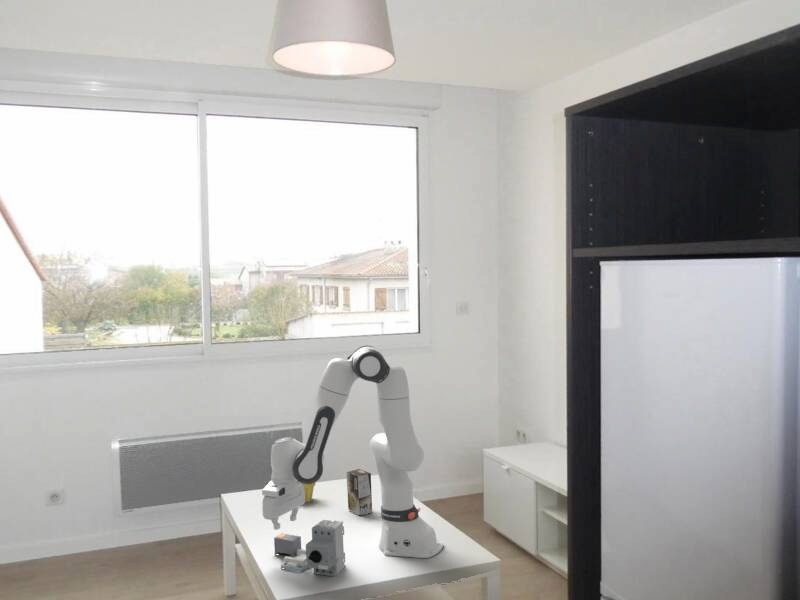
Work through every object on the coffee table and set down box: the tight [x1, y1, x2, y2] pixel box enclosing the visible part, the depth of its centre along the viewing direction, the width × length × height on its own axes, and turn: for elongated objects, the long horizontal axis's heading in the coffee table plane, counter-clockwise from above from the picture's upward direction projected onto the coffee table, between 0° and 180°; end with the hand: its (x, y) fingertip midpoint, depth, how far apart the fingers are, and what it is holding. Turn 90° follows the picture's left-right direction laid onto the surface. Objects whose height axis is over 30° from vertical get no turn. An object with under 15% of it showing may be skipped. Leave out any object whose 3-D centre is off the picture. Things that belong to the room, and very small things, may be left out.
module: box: [273, 532, 302, 557], centre depth 254 cm, size 8×4×6 cm, turn 63°
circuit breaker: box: [305, 519, 346, 577], centre depth 236 cm, size 8×14×15 cm, turn 159°
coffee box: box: [346, 468, 373, 516], centre depth 295 cm, size 9×6×16 cm
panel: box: [280, 548, 308, 573], centre depth 246 cm, size 8×14×3 cm, turn 153°
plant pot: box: [302, 482, 316, 503], centre depth 312 cm, size 10×10×10 cm
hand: (285, 524), depth 253 cm, fingers open, 8 cm apart
